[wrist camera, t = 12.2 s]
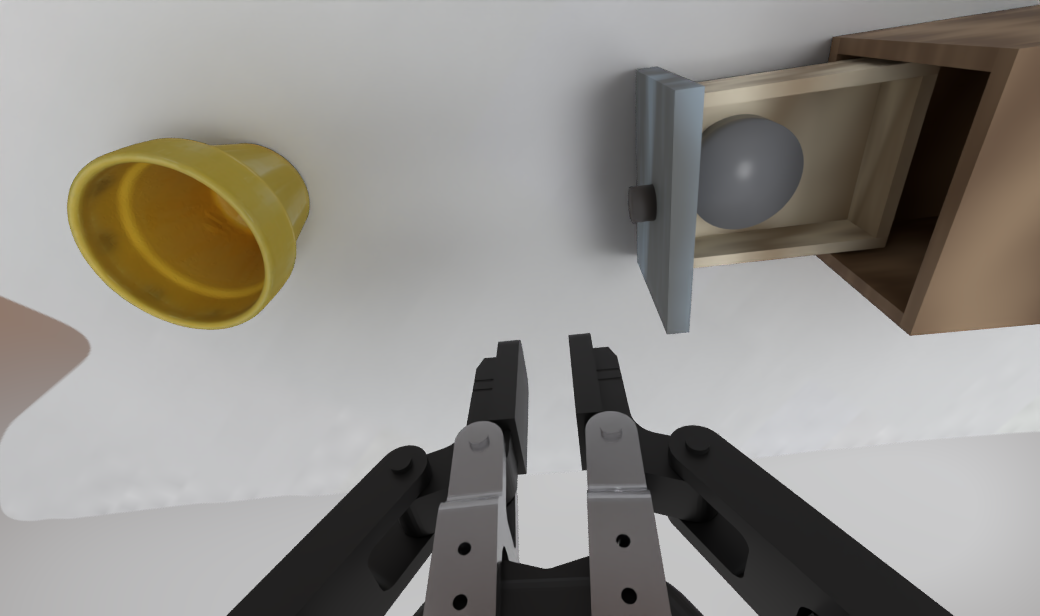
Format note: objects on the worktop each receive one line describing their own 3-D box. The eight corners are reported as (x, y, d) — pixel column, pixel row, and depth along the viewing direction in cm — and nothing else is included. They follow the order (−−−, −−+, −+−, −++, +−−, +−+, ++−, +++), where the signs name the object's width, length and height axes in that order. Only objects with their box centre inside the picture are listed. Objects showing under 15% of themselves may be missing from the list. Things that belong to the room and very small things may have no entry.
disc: (683, 121, 27) (692, 128, 25) (796, 106, 26) (814, 112, 25) (678, 222, 30) (686, 234, 29) (778, 211, 30) (792, 223, 28)
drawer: (896, 29, 25) (1053, 33, 17) (844, 238, 32) (941, 308, 24) (614, 73, 27) (645, 95, 19) (620, 263, 33) (645, 336, 26)
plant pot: (357, 252, 35) (300, 325, 26) (229, 264, 35) (136, 339, 27) (307, 104, 29) (216, 139, 21) (158, 124, 30) (14, 164, 22)
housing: (1107, -6, 25) (1503, -23, 15) (1009, 213, 31) (1235, 306, 21) (832, 37, 26) (1019, 48, 16) (794, 237, 33) (910, 335, 23)
